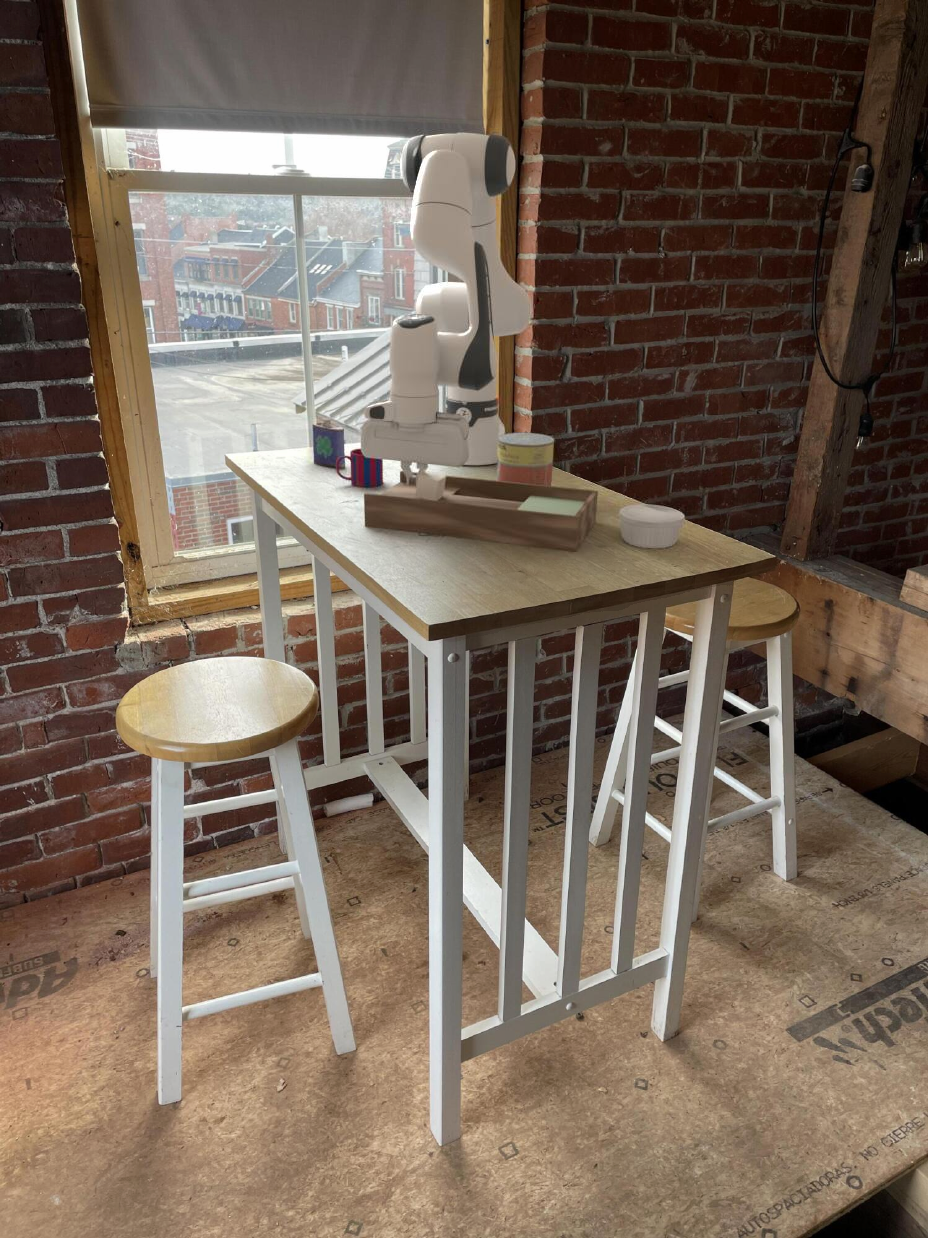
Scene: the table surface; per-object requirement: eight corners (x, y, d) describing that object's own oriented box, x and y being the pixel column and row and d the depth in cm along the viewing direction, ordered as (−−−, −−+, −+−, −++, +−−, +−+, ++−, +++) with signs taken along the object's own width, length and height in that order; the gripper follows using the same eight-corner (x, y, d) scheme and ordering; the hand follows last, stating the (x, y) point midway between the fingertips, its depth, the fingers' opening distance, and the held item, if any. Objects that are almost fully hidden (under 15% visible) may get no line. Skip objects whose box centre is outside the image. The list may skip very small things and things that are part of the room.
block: (423, 490, 170) (426, 470, 168) (443, 496, 169) (446, 475, 167) (415, 496, 167) (418, 475, 165) (435, 501, 166) (438, 481, 164)
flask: (347, 467, 204) (345, 419, 200) (338, 469, 202) (336, 421, 198) (319, 461, 209) (316, 414, 205) (309, 463, 207) (307, 416, 203)
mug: (386, 486, 190) (385, 454, 187) (338, 489, 187) (337, 456, 185) (379, 478, 196) (378, 447, 193) (333, 481, 193) (332, 449, 190)
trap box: (401, 500, 181) (401, 470, 178) (595, 521, 170) (597, 490, 167) (364, 525, 165) (363, 493, 162) (575, 551, 154) (578, 517, 152)
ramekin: (687, 537, 163) (690, 508, 161) (674, 555, 153) (677, 525, 151) (626, 528, 167) (628, 500, 165) (609, 545, 157) (612, 516, 155)
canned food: (500, 488, 191) (502, 431, 186) (553, 491, 189) (556, 434, 184) (491, 502, 180) (493, 442, 176) (548, 506, 178) (551, 446, 174)
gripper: (474, 411, 162) (472, 487, 168) (370, 403, 168) (372, 476, 174) (463, 417, 157) (461, 495, 162) (356, 408, 163) (357, 483, 168)
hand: (414, 485), depth 168 cm, fingers closed
